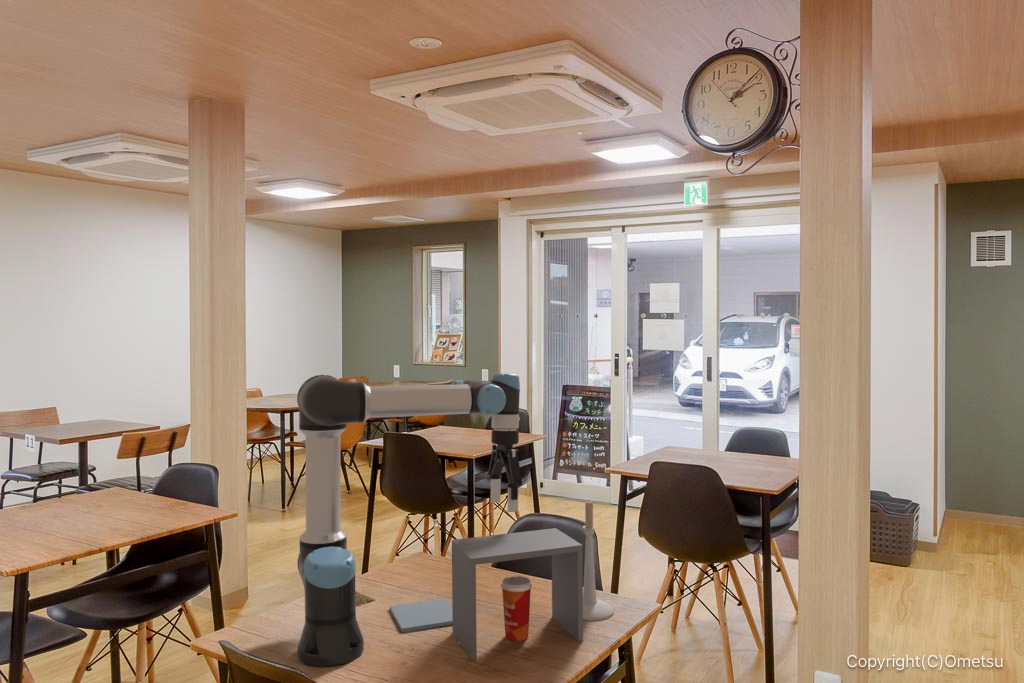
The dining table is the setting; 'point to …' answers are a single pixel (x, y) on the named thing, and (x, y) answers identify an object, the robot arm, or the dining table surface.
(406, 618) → the mat
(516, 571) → the dining table surface
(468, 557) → the shelf riser
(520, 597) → the paper cup
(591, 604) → the candlestick
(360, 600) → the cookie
